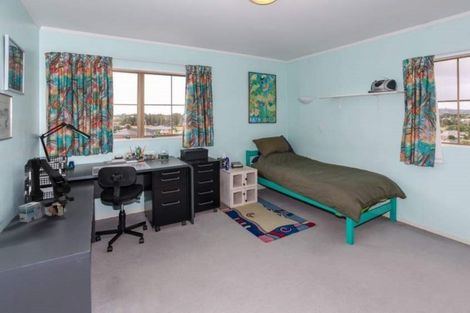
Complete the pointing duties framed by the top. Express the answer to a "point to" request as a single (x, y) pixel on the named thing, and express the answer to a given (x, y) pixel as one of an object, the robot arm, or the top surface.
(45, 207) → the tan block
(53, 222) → the top surface
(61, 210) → the tethered block
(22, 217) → the light bulb box
